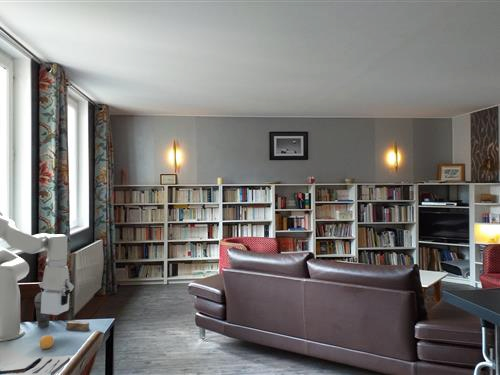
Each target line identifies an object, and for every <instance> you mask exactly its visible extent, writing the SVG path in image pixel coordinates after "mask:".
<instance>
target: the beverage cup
mask: <svg viewBox="0 0 500 375" xmlns="http://www.w3.org/2000/svg"><path fill="white" fill-rule="evenodd" d="M41 282H42V281H41ZM41 282H39V283H41ZM40 291H41V292H39V293H37V295H35V298H34V307H35V314H36V321H37V327H38V328H44V327H43V326H46V327H48V326H49V325H50V321H51V320H50V318H51V314H43V313H41V296H42V292H43V291H42V290H41V289H40ZM47 325H48V326H47Z"/></svg>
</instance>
